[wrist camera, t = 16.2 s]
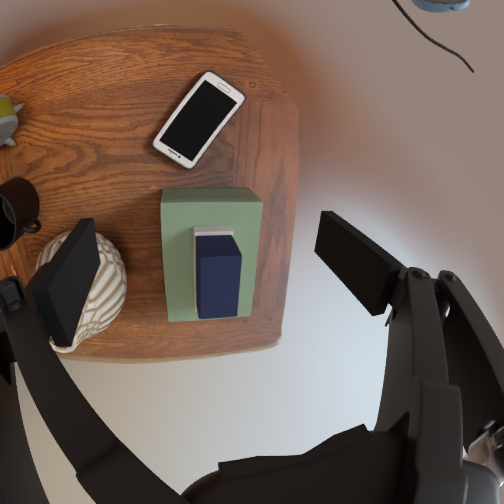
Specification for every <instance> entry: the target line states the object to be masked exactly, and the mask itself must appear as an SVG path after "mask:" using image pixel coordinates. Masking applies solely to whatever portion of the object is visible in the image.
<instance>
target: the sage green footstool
mask: <svg viewBox="0 0 504 504" xmlns="http://www.w3.org/2000/svg"><path fill="white" fill-rule="evenodd" d="M160 209H161V237H162V255H163V270H164V282H165V293H166V303H167V312H168V321H169V322H179V321H195V320H209V319H199V318H198V312H197V311H195V306H194V282H193V227H194V226H231V227H232V229H233V231H234V232H233V238H234V240H235V242H236V244H237V246H238V248H239V250H240V252H241V254H242V265H241V277H240V289H239V301H238V314H237V317H244V316H251V309H252V300H253V292H254V283H255V274H256V265H257V256H258V247H259V238H260V229H261V220H262V211H263V201H262V200H261V199H260V198H259V197H257V196H256V195H255V194H254V193H253V192H252V191H251V190H250V189H249V188H163V191H162V197H161V203H160ZM226 318H233V317H226ZM214 319H222V318H214Z"/></svg>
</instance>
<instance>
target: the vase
mask: <svg viewBox="0 0 504 504" xmlns="http://www.w3.org/2000/svg"><path fill="white" fill-rule="evenodd" d="M71 231H72V230H69V231H65V232H63V233H61V234H59V235H57V236H56V237H54V238H53V239H52V240H50V241H49V242H48V243H47V244H46V245H45V247H44V248H43V249H42V251H41V252H40V254H39V256H38V259H37V261H36V264H35V268H34V272H33V276H34V274H35V272H36V271H37V269H38V268H39V267H40V266H42V265H43V264H44V263H45V262H49V261H50V260H51V258H52V257H53V256H54V254H55V253H56V251H57V250H58V249H59V247H60V246H61V244H62V243H63V242H64V240H65V239H66V238H67V236H68V235H69V234H70V232H71ZM96 239H97V244H98V250H99V255H100V260H101V264H100V267H99V269H98V271H97V274H96V276H95V279H94V281H93V284H92V287H91V289H90V292H89V295H88V297H87V300H86V303H85V306H84V309H83V311H82V314H81V317H80V320H79V324H78V327H77V330H76V333H75V336H74V340H73V343H72V347H60V346H55V344H54V342H53V339H52V337H51V336H50V339H49V342H50V344H51V346H52V348H53V350H55V351H58V352H62V353H68V352H72V351H73V350H74V349H75V348H76V347H77V346H78V345H79V344H80V342H81V341H82V340H86V339H88V338H91V337H93V336H95V335H97V334H99V333H100V332H102V331H103V330H104V329H106V328H107V327H108V326H109V325H110V324H111V323H112V321H113V320H114V319H115V318H116V316H117V315H118V313H119V312H120V310H121V308H122V306H123V304H124V301H125V298H126V292H127V274H126V268H125V265H124V262H123V260H122V257H121V255H120V254H119V252H118V250H117V249H116V248H115V246H114V245H113V244H112V243H111V242H110V241H109V240H108V239H107V238H105V237H104V236H102V235H100V234H99V233H96Z"/></svg>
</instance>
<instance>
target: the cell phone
mask: <svg viewBox="0 0 504 504" xmlns="http://www.w3.org/2000/svg"><path fill="white" fill-rule="evenodd" d="M245 99H246V96H245V94H244V93H242V92H241V91H240V90H239V89H237V88H236V87H235V86H233V85H232V84H230V83H229V82H228V81H226V80H225V79H223V78H222V77H221V76H219V75H218V74H216V73H215V72H213V71H211V70H208V71H206V72H205V73H204V74H203V75H202V76H201V77H200V78H199V79H198V81H197V82H196V83H195V84H194V85H193V87H192V88H191V89H190V90H189V92H188V93H187V94H186V95H185V97H184V98H183V99H182V100H181V102H180V103H179V104H178V106H177V107H176V108H175V110H174V111H173V112H172V114H171V115H170V116H169V118H168V119H167V121H166V122H165V123H164V125H163V126H162V128H161V129H160V131H159V132H158V133H157V135H156V136H155V138H154V140H153V141H152V144H151V146H152V148H153V149H155V150H156V151H157V152H159V153H161V154H162V155H164V156H165V157H167V158H169V159H170V160H172V161H173V162H175V163H177V164H178V165H180V166H181V167H183V168H185V169H187V170H191V169H193V168H194V166H195V165H196V164H197V162H198V161H199V160H200V158H201V157H202V156H203V154H204V153H205V152H204V151H206V150H207V149H208V148H207V147H209V146H210V145H211V143H212V142H213V141H214V139H215V138H216V137H217V135H218V134H219V133H220V132H221V130H222V129H223V128H224V126H225V125H226V124H227V123H228V121H229V120H230V119H231V118H232V116H233V115H234V114H235V113H236V111H237V110H238V109H239V108H240V106H241V105H242V104H243V103H244V101H245Z"/></svg>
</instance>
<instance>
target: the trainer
mask: <svg viewBox="0 0 504 504" xmlns="http://www.w3.org/2000/svg"><path fill="white" fill-rule="evenodd" d="M233 232H234V231H233V229H232V227H231V226H194V227H193V282H194V306H195V311H197V312H198V318H199V319H214V318H226V317H237V314H238V301H239V289H240V277H241V265H242V254H241V252H240V250H239V248H238V246H237V244H236V242H235V240H234V238H233Z"/></svg>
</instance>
